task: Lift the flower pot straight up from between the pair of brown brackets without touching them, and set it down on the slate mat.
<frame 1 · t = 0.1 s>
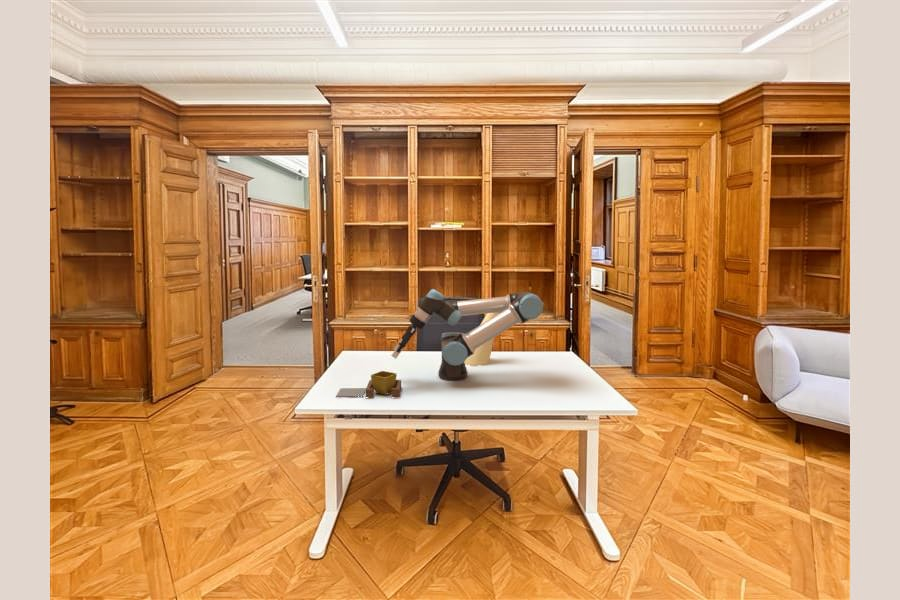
hand: (394, 353, 241), 15 cm above the table, tool tilted 35°, fingers open, 13 cm apart
flower pot: (384, 393, 231), on the table
cone light: (478, 362, 287), on the table
pair of brown brackets: (384, 392, 231), on the table
slate mat: (351, 393, 230), on the table
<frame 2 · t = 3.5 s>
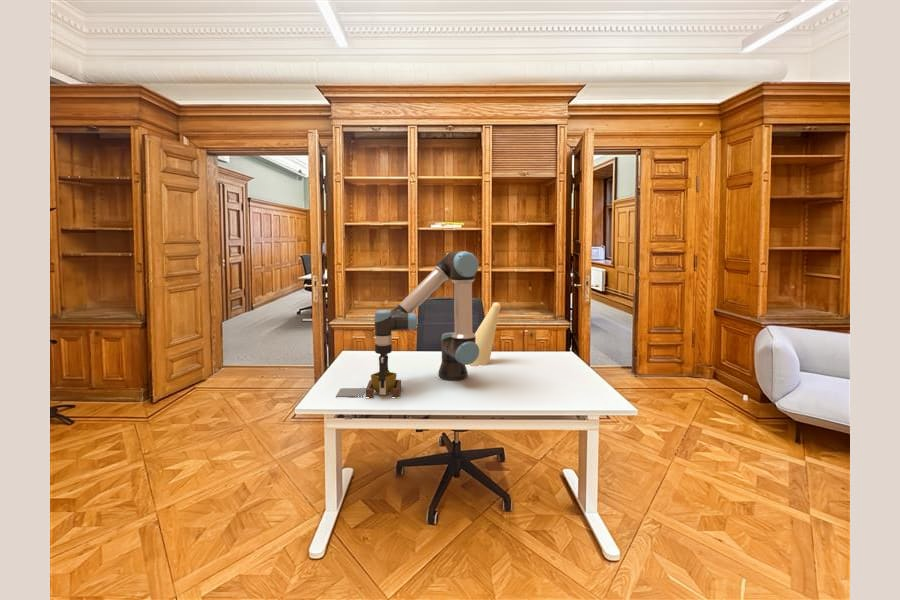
hand: (384, 390, 231), 1 cm above the table, tool pointing down, fingers closed on flower pot, 11 cm apart
flower pot: (384, 393, 231), on the table, touching gripper
everything else where it was.
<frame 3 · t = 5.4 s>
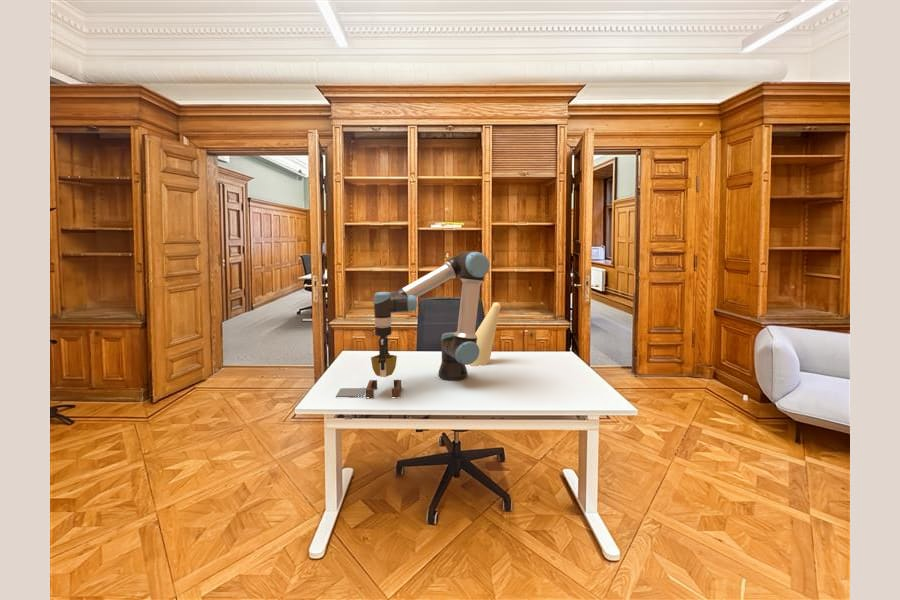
hand: (384, 372, 230), 9 cm above the table, tool pointing down, fingers closed on flower pot, 11 cm apart
flower pot: (384, 375, 230), point 8 cm above the table, touching gripper
everything else where it was.
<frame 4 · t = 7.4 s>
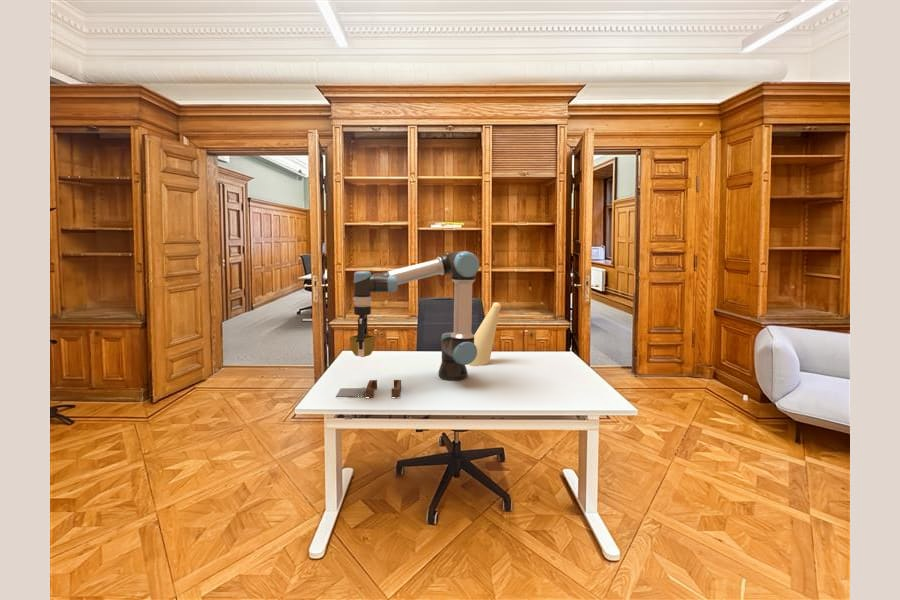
hand: (362, 353, 228), 19 cm above the table, tool pointing down, fingers closed on flower pot, 11 cm apart
flower pot: (362, 356, 228), point 18 cm above the table, touching gripper
everything else where it was.
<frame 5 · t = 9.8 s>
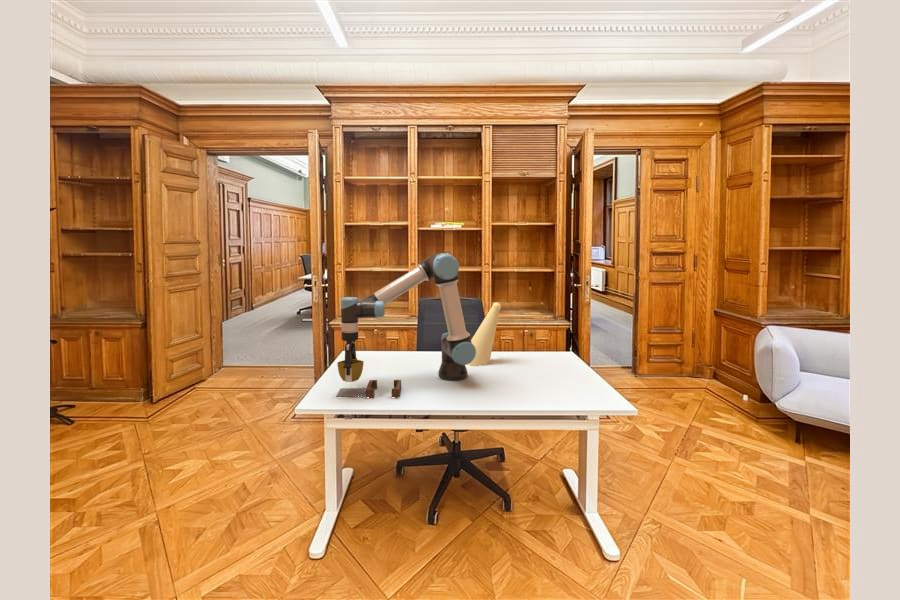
hand: (350, 378, 229), 7 cm above the table, tool pointing down, fingers closed on flower pot, 11 cm apart
flower pot: (350, 381, 229), point 6 cm above the table, touching gripper
everything else where it was.
when the fingers open (3 cm above the table, at t = 11.7 s): flower pot drops 1 cm, resting on slate mat.
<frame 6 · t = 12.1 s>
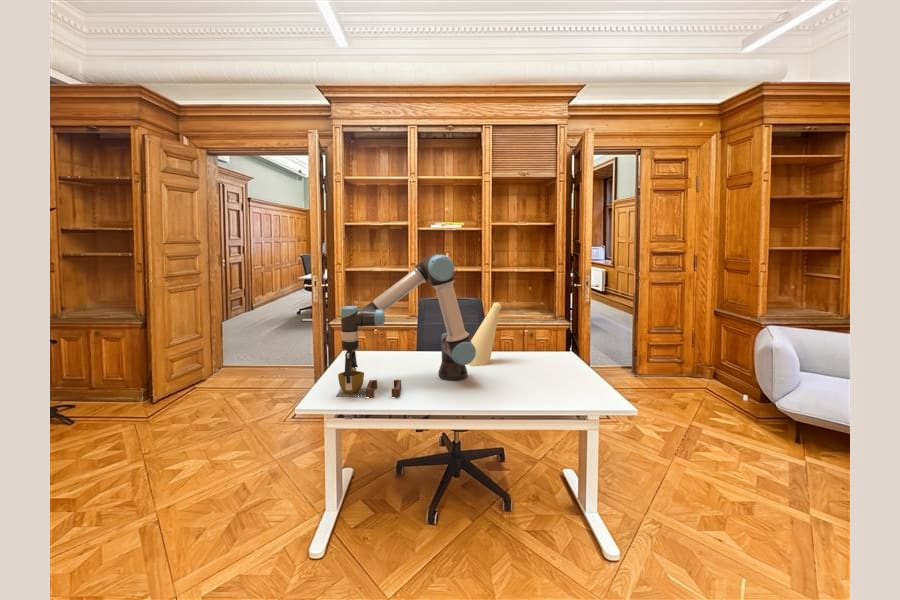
hand: (351, 385, 230), 4 cm above the table, tool pointing down, fingers open, 13 cm apart
flower pot: (351, 392, 230), resting on slate mat
everything else where it was.
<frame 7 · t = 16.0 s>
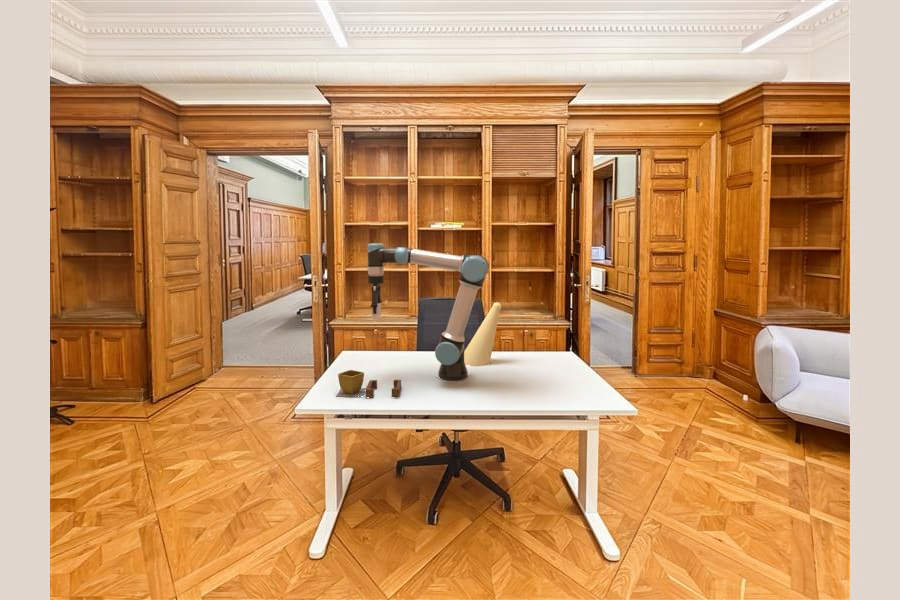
hand: (376, 318, 246), 32 cm above the table, tool pointing down, fingers open, 13 cm apart
nothing on the table moved.
at the end: flower pot inside the target area (0.1 cm from its centre), resting on slate mat; flower pot tilted 0°; flower pot touching slate mat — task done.
